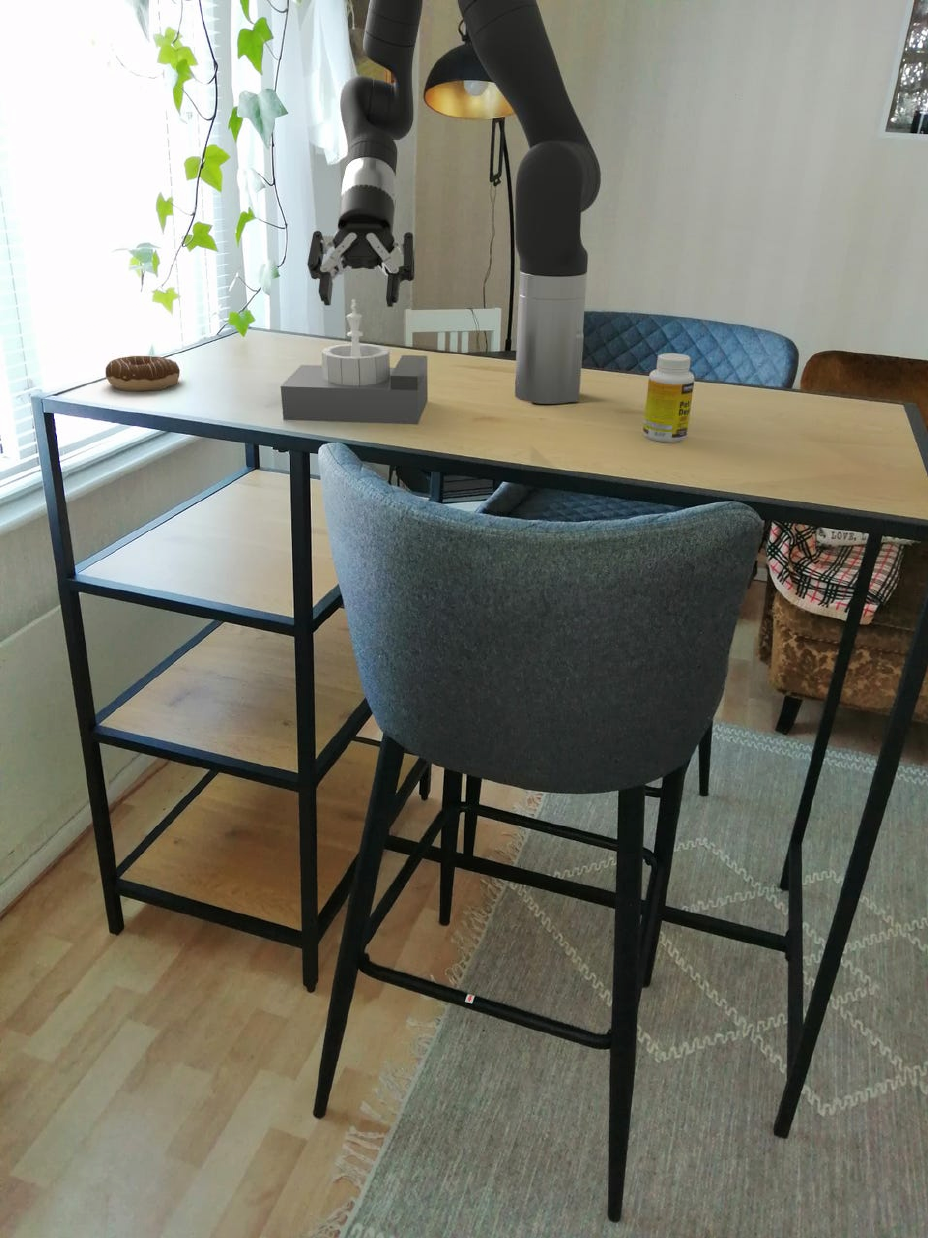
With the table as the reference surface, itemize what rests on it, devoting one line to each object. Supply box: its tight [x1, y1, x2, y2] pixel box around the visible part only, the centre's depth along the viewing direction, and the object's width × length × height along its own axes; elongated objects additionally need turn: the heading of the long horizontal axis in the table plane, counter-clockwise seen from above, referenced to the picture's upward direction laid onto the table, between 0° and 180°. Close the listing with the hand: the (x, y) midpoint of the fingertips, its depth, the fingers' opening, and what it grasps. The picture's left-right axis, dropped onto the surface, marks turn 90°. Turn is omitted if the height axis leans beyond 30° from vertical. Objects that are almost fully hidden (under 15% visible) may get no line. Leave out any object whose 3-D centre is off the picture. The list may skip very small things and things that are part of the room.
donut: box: [105, 355, 181, 392], centre depth 138 cm, size 11×11×4 cm
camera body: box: [280, 343, 429, 425], centre depth 126 cm, size 18×12×8 cm, turn 86°
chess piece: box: [346, 299, 364, 357], centre depth 124 cm, size 5×5×10 cm
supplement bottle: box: [642, 352, 695, 443], centre depth 116 cm, size 6×6×10 cm
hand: (358, 302), depth 124 cm, fingers open, 8 cm apart
